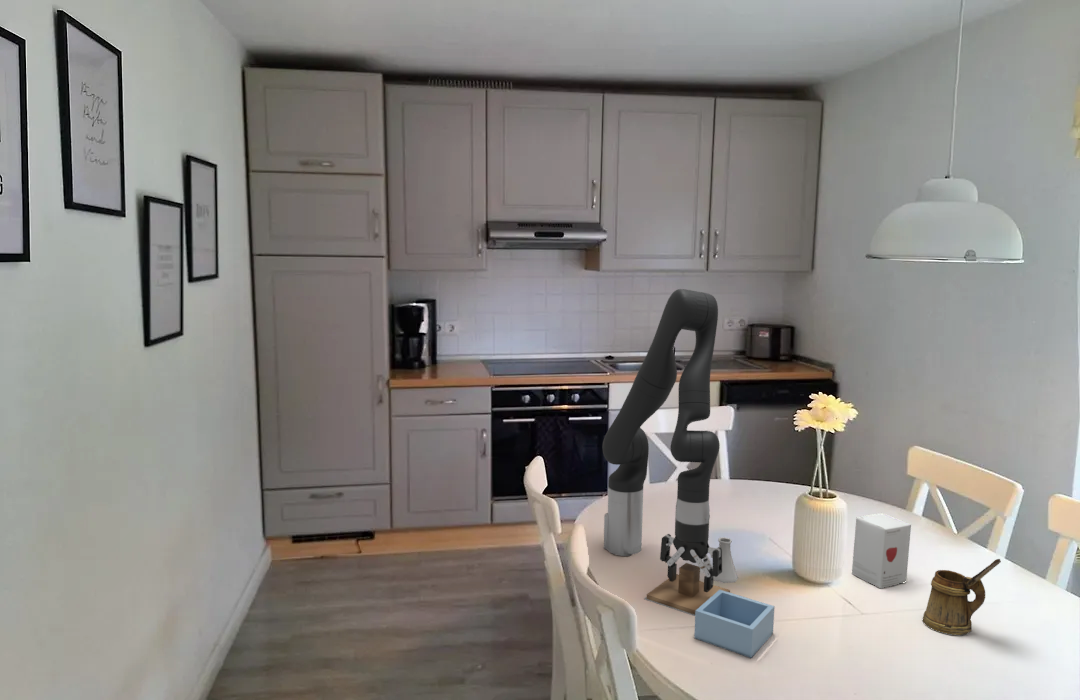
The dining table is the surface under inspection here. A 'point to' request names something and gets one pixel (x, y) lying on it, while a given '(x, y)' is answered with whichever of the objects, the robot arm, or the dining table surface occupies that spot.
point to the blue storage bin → (734, 623)
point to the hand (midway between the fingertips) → (689, 585)
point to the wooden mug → (954, 600)
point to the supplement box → (881, 549)
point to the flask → (726, 563)
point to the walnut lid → (684, 590)
